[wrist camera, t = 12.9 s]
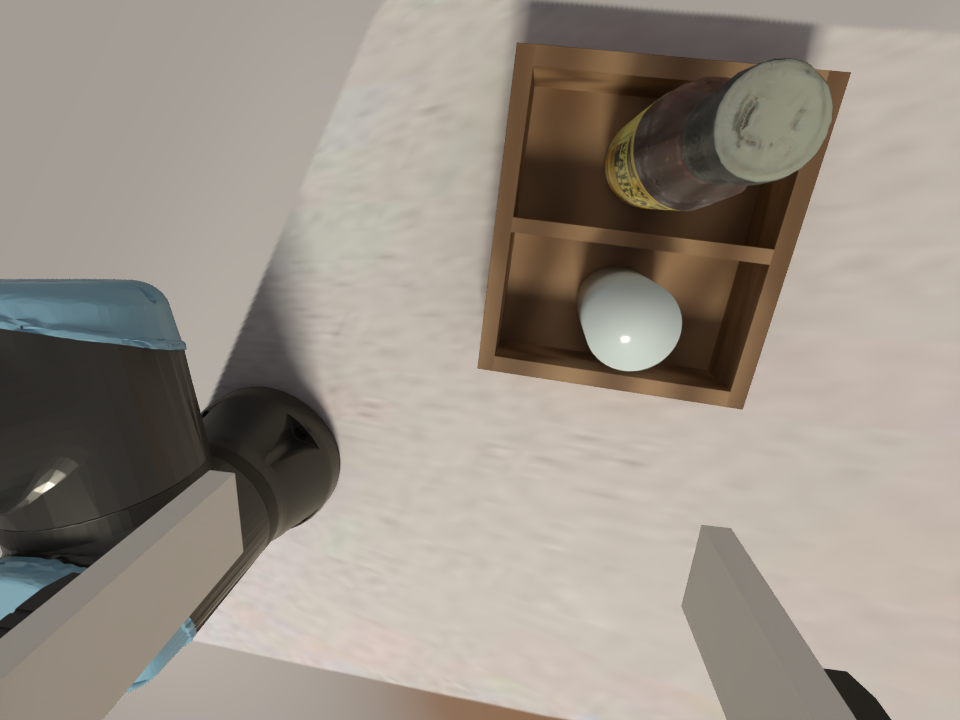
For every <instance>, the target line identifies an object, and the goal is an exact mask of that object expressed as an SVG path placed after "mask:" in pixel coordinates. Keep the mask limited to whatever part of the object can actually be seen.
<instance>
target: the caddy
mask: <svg viewBox="0 0 960 720" xmlns="http://www.w3.org/2000/svg"><path fill="white" fill-rule="evenodd" d="M755 65H757V64H751V63H740V62H728V61H717V60H706V59H695V58H684V57H673V56H661V55H650V54H639V53H628V52H617V51H606V50H595V49H583V48H572V47H561V46H550V45H539V44H528V43H517V47H516V55H515V64H514V72H513V80H512V88H511V97H510V105H509V113H508V121H507V129H506V138H505V146H504V154H503V162H502V171H501V179H500V187H499V195H498V203H497V212H496V220H495V228H494V236H493V245H492V253H491V261H490V269H489V277H488V286H487V294H486V302H485V310H484V319H483V327H482V335H481V343H480V351H479V360H478V369H485V370H491V371H497V372H504V373H510V374H517V375H523V376H530V377H536V378H543V379H549V380H556V381H562V382H569V383H575V384H581V385H588V386H594V387H601V388H607V389H614V390H620V391H627V392H633V393H640V394H646V395H653V396H659V397H665V398H672V399H678V400H685V401H691V402H698V403H704V404H711V405H717V406H724V407H730V408H737V409H743V407H744V404H745V400H746V397H747V394H748V391H749V388H750V385H751V382H752V379H753V376H754V372H755V369H756V366H757V363H758V360H759V357H760V354H761V351H762V348H763V344H764V341H765V338H766V335H767V332H768V329H769V326H770V323H771V320H772V317H773V313H774V310H775V307H776V304H777V301H778V298H779V295H780V292H781V289H782V285H783V282H784V279H785V276H786V273H787V270H788V267H789V264H790V261H791V257H792V254H793V251H794V248H795V245H796V242H797V239H798V236H799V233H800V230H801V226H802V223H803V220H804V217H805V214H806V211H807V208H808V205H809V202H810V198H811V195H812V192H813V189H814V186H815V183H816V180H817V177H818V174H819V170H820V167H821V164H822V161H823V158H824V155H825V152H826V149H827V146H828V143H829V139H830V136H831V133H832V130H833V127H834V124H835V121H836V118H837V115H838V111H839V108H840V105H841V102H842V99H843V96H844V93H845V90H846V87H847V83H848V80H849V77H850V74H851V72H840V71H829V70H818V69H815V70H816V71H817V72H818V73H819V74H820V75H821V76H822V77H823V78H824V79H825V81H826V82H827V84H828V86H829V88H830V92H831V97H832V104H833V110H832V121H831V124H830V126H829V129H828V133H827V136H826V138H825V140H824V142H823V144H822V145H821V147H820V148H819V150H818V151H817V153H816V154H815V155H814V156H813V158H812V159H811V160H810V161H809V162H807V163H806V164H805V165H804V166H803V167H802V168H801V169H799V170H798V171H796V172H794V173H792V174H790V175H789V176H787V177H785V178H782V179H780V180H776V181H772V182H768V183H763V184H758V185H750V186H747V187H746V189H745V190H744V191H743V192H742V193H739V194H737V195H735V196H732V197H729V198H726V199H724V200H721V201H718V202H716V203H713V204H710V205H708V206H705V207H702V208H699V209H696V210H690V211H676V210H659V209H644V208H636V207H632V206H629V205H627V204H625V203H623V202H622V201H621V200H619V199H618V198H617V197H616V196H615V195H614V193H613V192H612V190H611V189H610V187H609V186H608V182H607V179H606V175H605V167H604V162H605V158H606V154H607V151H608V148H609V146H610V144H611V142H612V140H613V138H614V137H615V136H616V134H617V133H618V132H619V131H620V130H621V129H622V128H623V127H624V126H625V125H627V124H628V123H629V122H630V121H632V120H633V119H634V118H635V117H636V116H637V115H639V114H640V113H641V112H642V111H644V110H645V109H646V108H648V107H649V106H650V105H652V104H653V103H654V102H655V101H657V100H658V99H660V98H661V97H663V96H664V95H666V94H668V93H670V92H671V91H674V90H675V89H677V88H678V87H680V86H682V85H684V84H687V83H690V82H692V81H695V80H698V79H701V78H703V77H709V76H716V77H728V78H732V77H733V76H734V75H736V74H737V73H738V72H740V71H743V70H745V69H747V68H750V67H752V66H755ZM610 265H622V266H626V267H629V268H632V269H634V270H635V271H637V272H639V273H640V274H642V275H644V276H645V277H647V278H648V279H650V280H652V281H653V282H655V283H656V284H658V285H660V286H661V287H663V288H664V289H666V290H667V291H668V292H669V293H670V294H671V295H672V296H673V298H674V299H675V300H676V302H677V304H678V306H679V309H680V312H681V316H682V329H681V334H680V337H679V340H678V342H677V344H676V346H675V347H674V349H673V350H672V352H671V353H670V354H669V355H668V356H667V357H666V358H665V359H664V360H662V361H661V362H659V363H658V364H656V365H654V366H652V367H650V368H647V369H644V370H639V371H622V370H617V369H614V368H611V367H609V366H607V365H605V364H604V363H602V362H601V361H600V360H599V359H598V358H597V357H596V356H595V355H594V354H593V353H592V351H591V349H590V348H589V345H588V343H587V340H586V337H585V334H584V331H583V328H582V325H581V322H580V319H579V316H578V313H577V308H576V298H577V293H578V290H579V288H580V286H581V284H582V283H583V281H584V280H585V279H586V278H587V277H588V276H589V275H590V274H591V273H592V272H594V271H596V270H597V269H600V268H602V267H605V266H610Z"/></svg>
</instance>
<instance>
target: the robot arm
mask: <svg viewBox="0 0 960 720" xmlns="http://www.w3.org/2000/svg"><path fill="white" fill-rule="evenodd" d="M184 350H186V344H185V342H183V341H182V340H181V337H180V335H179V332H178V329H177V326H176V323H175V320H174V317H173V315H172V311H171V308H170V305H169V302H168V300H167V299H166V297H165V296H164V295H163V293H162V292H161V291H159V290H158V289H157V288H155V287H154V286H152V285H150V284H148V283H145V282H141V281H136V280H115V279H0V547H1V550H2V552H3V554H2V557H1V558H0V720H102V719H103V718H104V717H105V716H106V715H107V714H108V712H109V711H110V710H111V709H112V708H113V706H114V705H115V704H116V703H117V702H118V700H119V699H120V698H121V697H122V696H123V695H124V693H126V692H129V691H132V690H134V689H137V688H139V687H141V686H142V685H144V684H146V683H147V682H149V681H150V680H151V679H153V678H154V677H155V676H156V675H157V674H158V673H159V672H160V671H161V670H162V669H163V668H164V667H165V665H166V664H167V663H168V662H169V661H170V660H171V659H172V658H173V657H174V656H175V655H176V654H177V653H178V652H179V650H180V649H181V648H182V647H184V646H186V645H187V644H188V643H189V642H191V641H192V640H193V638H194V637H195V635H196V633H197V632H198V631H199V630H200V628H201V627H202V626H203V625H204V623H205V622H206V621H207V620H208V618H209V617H210V616H211V615H212V614H213V612H214V611H215V610H216V609H217V607H218V606H219V605H220V604H221V602H222V601H223V600H224V599H225V597H226V596H227V595H228V594H229V592H230V591H231V590H232V589H233V587H234V586H235V585H236V584H237V583H238V581H239V580H240V579H241V578H242V576H243V575H244V574H245V573H246V571H247V570H248V569H249V568H250V566H251V565H252V564H253V563H254V561H255V560H256V559H257V558H258V556H259V555H260V554H261V553H262V552H263V550H264V549H265V548H266V547H267V546H268V544H269V543H270V542H271V541H273V540H274V539H276V538H278V537H279V536H281V535H282V534H284V533H285V532H286V531H287V530H289V529H291V528H294V527H296V526H298V525H301V524H302V523H304V522H306V521H308V520H309V519H310V518H312V517H313V516H314V515H315V514H316V513H317V512H318V511H319V510H320V509H321V508H322V507H323V505H324V504H325V503H326V501H327V500H328V499H329V497H330V496H331V495H332V493H333V491H334V489H335V487H336V485H337V482H338V478H339V470H340V462H339V454H338V450H337V447H336V444H335V441H334V439H333V437H332V435H331V433H330V431H329V429H328V428H327V426H326V425H325V423H324V422H323V421H322V419H321V418H320V417H319V416H318V415H317V414H316V413H315V412H314V411H313V410H312V409H311V408H310V407H308V406H307V405H306V404H304V403H303V402H301V401H300V400H298V399H297V398H295V397H293V396H291V395H289V394H286V393H284V392H281V391H278V390H274V389H270V388H263V387H251V388H244V389H239V390H236V391H233V392H231V393H229V394H227V395H226V396H224V397H222V398H220V399H219V400H217V401H215V402H213V403H212V404H211V405H209V406H208V407H207V408H206V409H204V410H203V411H202V412H201V413H200V409H199V405H198V401H197V398H196V394H195V390H194V386H193V383H192V379H191V375H190V371H189V367H188V363H187V359H186V355H185V351H184ZM682 609H683V611H684V614H685V616H686V619H687V621H688V624H689V626H690V629H691V631H692V634H693V636H694V639H695V641H696V644H697V646H698V649H699V651H700V654H701V656H702V659H703V661H704V664H705V666H706V669H707V671H708V674H709V676H710V679H711V681H712V684H713V686H714V689H715V691H716V694H717V696H718V699H719V701H720V704H721V706H722V709H723V711H724V714H725V716H726V719H727V720H891V719H890V717H889V716H888V715H887V713H886V712H885V710H884V709H883V708H882V706H881V705H880V704H879V702H878V701H877V699H876V698H875V697H874V696H873V695H872V694H870V693H869V692H868V691H867V690H866V689H865V688H864V687H863V686H862V685H861V684H860V683H859V682H857V681H856V680H855V679H854V678H853V677H852V676H851V675H850V674H849V673H848V672H846V671H838V670H831V669H823V668H822V666H821V665H820V663H819V662H818V660H817V659H816V657H815V656H814V654H813V653H812V651H811V650H810V648H809V646H808V645H807V643H806V642H805V640H804V639H803V637H802V636H801V634H800V633H799V631H798V630H797V628H796V627H795V625H794V624H793V622H792V621H791V619H790V618H789V616H788V614H787V613H786V611H785V610H784V608H783V607H782V605H781V604H780V602H779V601H778V599H777V598H776V596H775V595H774V593H773V592H772V590H771V589H770V587H769V586H768V584H767V582H766V581H765V579H764V578H763V576H762V575H761V573H760V572H759V570H758V569H757V567H756V566H755V564H754V563H753V561H752V560H751V558H750V557H749V555H748V554H747V552H746V550H745V549H744V547H743V546H742V544H741V543H740V541H739V540H738V538H737V537H736V535H735V534H734V532H733V531H732V529H731V528H723V527H714V526H705V525H701V529H700V534H699V538H698V542H697V546H696V550H695V554H694V558H693V562H692V566H691V570H690V574H689V578H688V582H687V586H686V590H685V594H684V598H683V602H682Z"/></svg>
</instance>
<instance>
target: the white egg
mask: <svg viewBox="0 0 960 720" xmlns="http://www.w3.org/2000/svg"><path fill="white" fill-rule="evenodd" d="M576 308H577V313H578V316H579V319H580V322H581V325H582V328H583V331H584V334H585V337H586V340H587V343H588V345H589V348H590V349H591V351H592V353H593V354H594V355H595V356H596V357H597V358H598V359H599V360H600V361H601V362H602V363H604V364H605V365H607V366H609V367H611V368H614V369H617V370H622V371H639V370H644V369H647V368H650V367H652V366H654V365H656V364H658V363H659V362H661V361H662V360H664V359H665V358H666V357H667V356H668V355H669V354H670V353H671V352H672V350H673V349H674V347H675V346H676V344H677V342H678V340H679V337H680V334H681V329H682V316H681V312H680V309H679V306H678V304H677V302H676V300H675V299H674V298H673V296H672V295H671V294H670V293H669V292H668V291H667V290H666V289H664V288H663V287H661V286H660V285H658V284H656V283H655V282H653V281H652V280H650V279H648V278H647V277H645V276H644V275H642V274H640V273H639V272H637V271H635V270H634V269H632V268H629V267H626V266H622V265H610V266H605V267H602V268H600V269H597V270H596V271H594V272H592V273H591V274H590V275H589V276H588V277H587V278H586V279H585V280H584V281H583V283H582V284H581V286H580V288H579V290H578V293H577V298H576Z"/></svg>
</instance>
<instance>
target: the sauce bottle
mask: <svg viewBox="0 0 960 720" xmlns="http://www.w3.org/2000/svg"><path fill="white" fill-rule="evenodd" d="M832 110H833V104H832V97H831V92H830V88H829V86H828V84H827V82H826V81H825V79H824V78H823V77H822V76H821V75H820V74H819V73H818V72H817V71H816V70H815V69H814V68H813V67H812V66H811V65H810V64H808V63H806V62H803V61H801V60H797V59H790V58H784V59H773V60H770V61H767V62H762V63H759V64H757V65H755V66H752V67H750V68H747V69H745V70H743V71H740V72H738V73H737V74H736V75H734V76H733V77H732V78H728V77H716V76H709V77H703V78H701V79H698V80H695V81H692V82H690V83H687V84H684V85H682V86H680V87H678V88H677V89H675V90H674V91H671V92H670V93H668V94H666V95H664V96H663V97H661V98H660V99H658V100H657V101H655V102H654V103H653V104H652V105H650V106H649V107H648V108H646V109H645V110H644V111H642V112H641V113H640V114H639V115H637V116H636V117H635V118H634V119H633V120H632V121H630V122H629V123H628V124H627V125H625V126H624V127H623V128H622V129H621V130H620V131H619V132H618V133H617V134H616V136H615V137H614V138H613V140H612V142H611V144H610V146H609V148H608V151H607V154H606V158H605V162H604V167H605V175H606V179H607V182H608V186H609V187H610V189H611V190H612V192H613V193H614V195H615V196H616V197H617V198H618V199H619V200H621V201H622V202H623V203H625V204H627V205H629V206H632V207H636V208H644V209H659V210H676V211H690V210H696V209H699V208H702V207H705V206H708V205H710V204H713V203H716V202H718V201H721V200H724V199H726V198H729V197H732V196H735V195H737V194H739V193H742V192H743V191H744V190H745V189H746V187H747V186H750V185H758V184H763V183H768V182H772V181H776V180H780V179H782V178H785V177H787V176H789V175H790V174H792V173H794V172H796V171H798V170H799V169H801V168H802V167H803V166H804V165H805V164H806V163H807V162H809V161H810V160H811V159H812V158H813V156H814V155H815V154H816V153H817V151H818V150H819V148H820V147H821V145H822V144H823V142H824V140H825V138H826V136H827V133H828V129H829V126H830V124H831V121H832Z"/></svg>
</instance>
